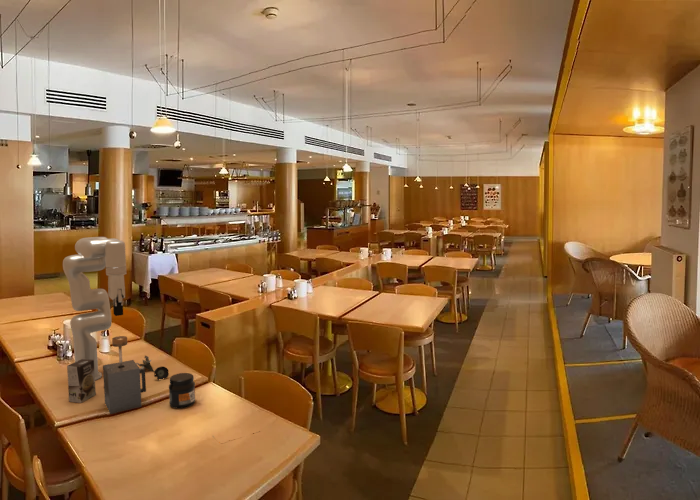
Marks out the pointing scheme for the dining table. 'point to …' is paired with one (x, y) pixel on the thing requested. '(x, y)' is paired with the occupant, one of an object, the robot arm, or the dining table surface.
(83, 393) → the coffee box
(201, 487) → the dining table surface
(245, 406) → the dining table surface
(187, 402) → the supplement container
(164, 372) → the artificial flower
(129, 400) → the press pot
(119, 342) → the plunger
